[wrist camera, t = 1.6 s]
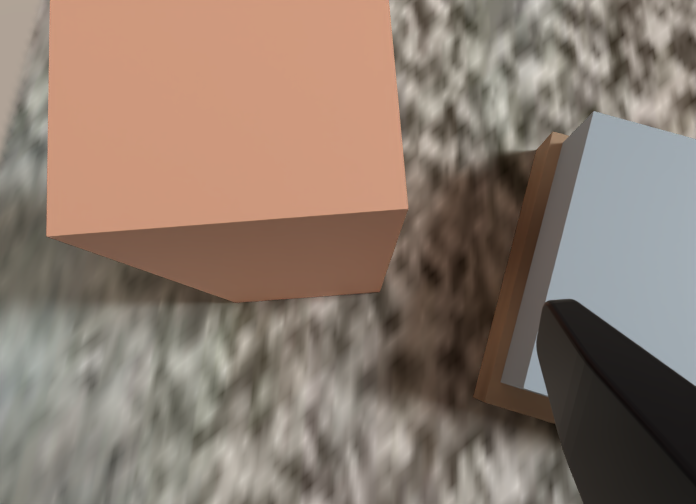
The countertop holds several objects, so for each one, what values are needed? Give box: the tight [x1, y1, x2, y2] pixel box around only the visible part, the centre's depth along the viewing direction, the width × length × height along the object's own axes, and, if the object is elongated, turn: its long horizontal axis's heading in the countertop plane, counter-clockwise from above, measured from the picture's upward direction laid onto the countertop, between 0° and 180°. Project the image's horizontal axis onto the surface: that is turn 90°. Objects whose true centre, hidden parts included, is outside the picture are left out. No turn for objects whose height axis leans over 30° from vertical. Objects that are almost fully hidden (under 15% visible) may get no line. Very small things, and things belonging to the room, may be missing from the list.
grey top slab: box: [500, 111, 696, 397], centre depth 16 cm, size 8×8×2 cm
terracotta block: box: [46, 0, 408, 303], centre depth 14 cm, size 5×5×12 cm
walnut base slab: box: [473, 132, 569, 424], centre depth 19 cm, size 9×9×2 cm
